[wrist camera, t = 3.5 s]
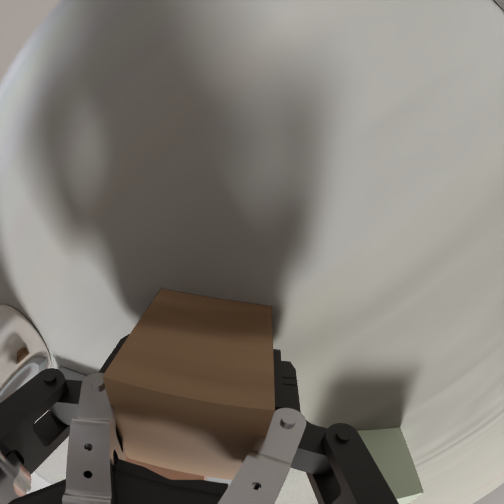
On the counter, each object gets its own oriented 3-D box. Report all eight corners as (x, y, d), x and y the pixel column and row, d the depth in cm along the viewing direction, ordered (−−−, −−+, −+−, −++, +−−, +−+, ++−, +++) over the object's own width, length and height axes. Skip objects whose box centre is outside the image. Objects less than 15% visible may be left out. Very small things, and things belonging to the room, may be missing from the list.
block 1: (161, 288, 13) (102, 376, 7) (271, 306, 13) (275, 410, 7) (163, 369, 14) (127, 457, 9) (255, 385, 14) (250, 481, 9)
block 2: (336, 430, 16) (351, 506, 10) (399, 426, 16) (423, 492, 10) (314, 465, 18) (321, 529, 12) (371, 461, 18) (386, 519, 12)
